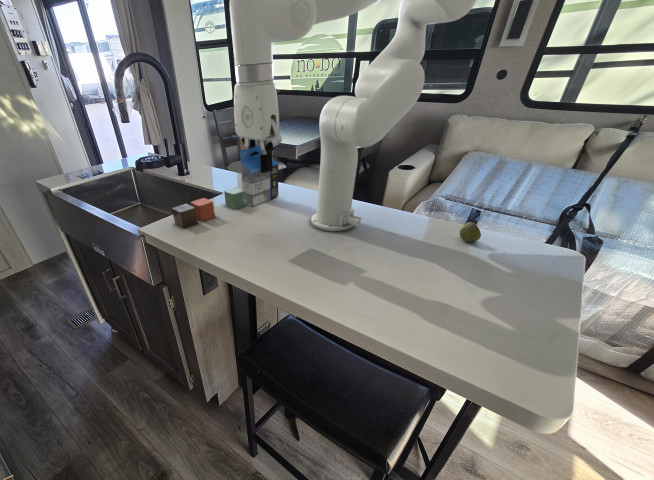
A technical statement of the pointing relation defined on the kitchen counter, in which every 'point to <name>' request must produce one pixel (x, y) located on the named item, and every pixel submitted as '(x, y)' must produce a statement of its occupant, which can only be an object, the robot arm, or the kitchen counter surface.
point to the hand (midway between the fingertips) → (260, 168)
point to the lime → (470, 232)
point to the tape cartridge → (257, 179)
